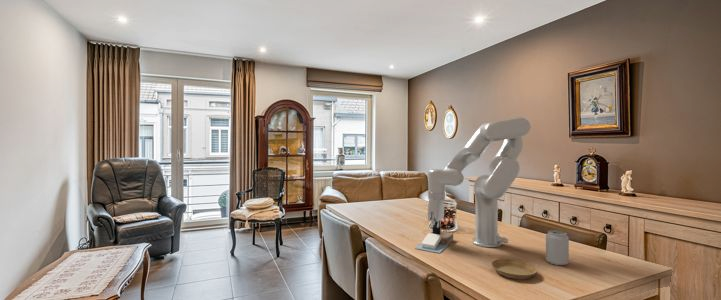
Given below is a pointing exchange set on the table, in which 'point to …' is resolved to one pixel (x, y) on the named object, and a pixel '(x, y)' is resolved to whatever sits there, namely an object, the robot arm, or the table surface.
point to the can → (557, 247)
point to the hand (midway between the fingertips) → (436, 235)
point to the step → (445, 238)
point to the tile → (431, 241)
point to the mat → (436, 250)
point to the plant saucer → (513, 268)
